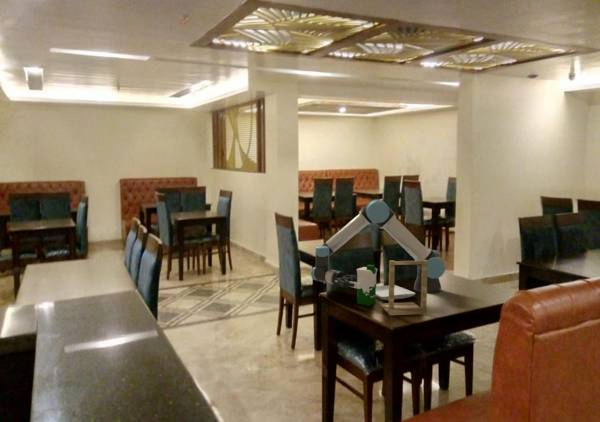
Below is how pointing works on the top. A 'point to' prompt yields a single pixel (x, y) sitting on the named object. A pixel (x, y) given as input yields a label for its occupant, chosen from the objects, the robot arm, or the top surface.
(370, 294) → the fresh milk carton
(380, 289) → the salad plate
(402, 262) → the wooden frame stand
